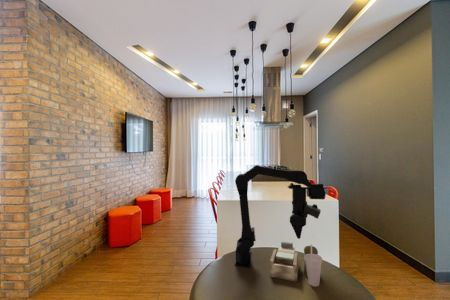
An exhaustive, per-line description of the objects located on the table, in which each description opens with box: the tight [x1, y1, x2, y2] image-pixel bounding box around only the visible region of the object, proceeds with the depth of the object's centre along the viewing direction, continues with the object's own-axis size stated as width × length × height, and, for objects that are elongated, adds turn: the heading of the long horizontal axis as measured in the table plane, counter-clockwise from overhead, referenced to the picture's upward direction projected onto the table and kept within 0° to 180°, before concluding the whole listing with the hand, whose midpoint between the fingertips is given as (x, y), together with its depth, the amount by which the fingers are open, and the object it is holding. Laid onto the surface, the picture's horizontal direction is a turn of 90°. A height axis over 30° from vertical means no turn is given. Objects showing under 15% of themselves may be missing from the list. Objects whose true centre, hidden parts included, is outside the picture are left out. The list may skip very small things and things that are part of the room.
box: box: [269, 248, 299, 283], centre depth 89 cm, size 10×12×6 cm
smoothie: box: [303, 244, 324, 287], centre depth 80 cm, size 6×6×14 cm
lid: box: [276, 241, 296, 260], centre depth 94 cm, size 7×12×3 cm, turn 159°
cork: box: [303, 245, 319, 279], centre depth 86 cm, size 6×6×11 cm
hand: (299, 234), depth 94 cm, fingers open, 9 cm apart
